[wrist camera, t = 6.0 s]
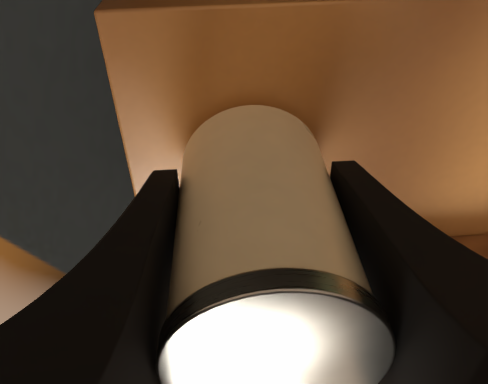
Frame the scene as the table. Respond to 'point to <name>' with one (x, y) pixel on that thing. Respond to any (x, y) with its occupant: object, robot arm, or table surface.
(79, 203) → the table surface
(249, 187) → the cream tin
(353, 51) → the shelf
